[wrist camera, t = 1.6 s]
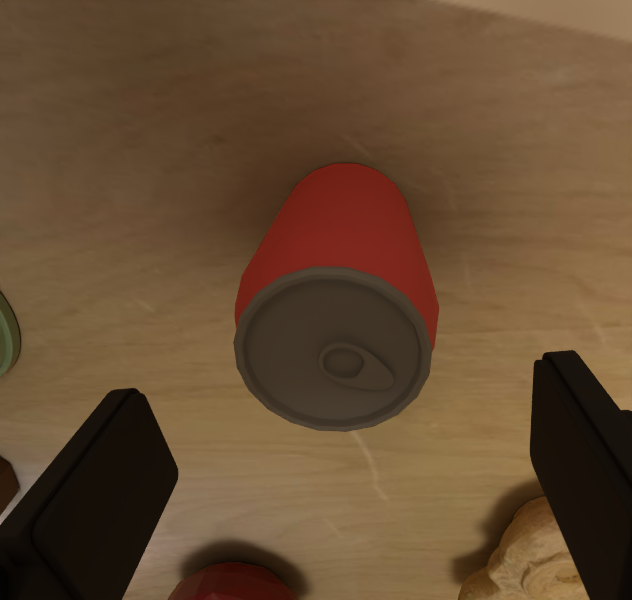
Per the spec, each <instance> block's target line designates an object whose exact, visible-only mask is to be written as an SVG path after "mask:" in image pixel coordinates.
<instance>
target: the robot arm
mask: <svg viewBox="0 0 632 600" xmlns="http://www.w3.org/2000/svg"><path fill="white" fill-rule="evenodd" d="M530 457H531V461H532V465H533V468H534V470H535V472H536V475H537V477H538V479H539V482H540V484H541V486H542V489H543V491H544V494H545V496H546V498H547V501H548V503H549V505H550V508H551V510H552V512H553V515H554V517H555V519H556V522H557V524H558V526H559V529H560V531H561V533H562V536H563V538H564V541H565V543H566V545H567V548H568V550H569V552H570V555H571V557H572V559H573V562H574V564H575V566H576V569H577V571H578V573H579V576H580V578H581V580H582V583H583V585H584V588H585V590H586V592H587V595H588V597H589V599H590V600H632V411H630V410H620V409H619V408H618V406H617V405H616V404H615V402H614V401H613V400H612V398H611V397H610V396H609V394H608V393H607V392H606V390H605V389H604V388H603V387H602V385H601V384H600V383H599V381H598V380H597V379H596V377H595V376H594V375H593V373H592V372H591V371H590V369H589V368H588V367H587V365H586V364H585V363H584V361H583V360H582V359H581V358H580V356H579V355H578V354H577V353H576V352H575V351H573V350H569V351H558V352H546V353H544V355H543V357H542V360H536V361H535V362H534V373H533V394H532V414H531V435H530ZM177 480H178V468H177V465H176V463H175V461H174V458H173V456H172V454H171V452H170V450H169V447H168V445H167V443H166V441H165V438H164V436H163V434H162V432H161V430H160V427H159V425H158V423H157V421H156V418H155V416H154V414H153V412H152V409H151V407H150V405H149V403H148V401H147V398H146V397H145V395H144V394H142V393H140V392H139V391H138V390H137V389H135V388H129V389H117V390H112V391H110V392H109V393H108V394H107V395H106V397H105V398H104V399H103V400H102V401H101V403H100V404H99V405H98V406H97V408H96V409H95V410H94V411H93V412H92V414H91V415H90V416H89V417H88V419H87V420H86V421H85V422H84V423H83V425H82V426H81V427H80V428H79V430H78V431H77V432H76V433H75V434H74V436H73V437H72V438H71V439H70V441H69V442H68V443H67V444H66V445H65V447H64V448H63V449H62V450H61V452H60V453H59V454H58V455H57V456H56V458H55V459H54V460H53V461H52V463H51V464H50V465H49V466H48V467H47V469H46V470H45V471H44V472H43V474H42V475H41V476H40V477H39V478H38V480H37V481H36V482H35V483H34V485H33V486H32V487H31V488H30V489H29V491H28V492H27V493H26V494H25V496H24V497H23V498H22V499H21V500H20V502H19V503H18V504H17V505H16V507H15V508H14V509H13V510H12V511H11V513H10V514H9V515H8V516H7V518H6V519H5V520H4V521H3V522H2V524H1V525H0V600H122V598H123V596H124V594H125V592H126V590H127V587H128V585H129V583H130V581H131V579H132V577H133V575H134V572H135V570H136V568H137V566H138V564H139V562H140V560H141V558H142V555H143V553H144V551H145V549H146V547H147V545H148V543H149V541H150V538H151V536H152V534H153V532H154V530H155V528H156V526H157V523H158V521H159V519H160V517H161V515H162V513H163V511H164V509H165V506H166V504H167V502H168V500H169V498H170V496H171V494H172V491H173V489H174V487H175V485H176V483H177Z"/></svg>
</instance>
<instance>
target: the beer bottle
mask: <svg viewBox="0 0 632 600" xmlns="http://www.w3.org/2000/svg"><path fill="white" fill-rule="evenodd" d="M18 488H19V486H18V484H17V481H16V479H15V476H14V474H13V471H12V469H11V466H10V464H9V463H8V462H6V461H5V460H3V459H2V458H0V515H1V514H2V513H3V511H4V510H5V509H6V507H7V506H8V504H9V503H10V502H11V500H12V499H13V498H14V496H15V495H16V494H17V492H18Z"/></svg>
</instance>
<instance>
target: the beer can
mask: <svg viewBox="0 0 632 600" xmlns="http://www.w3.org/2000/svg"><path fill="white" fill-rule="evenodd" d="M438 313H439V305H438V301H437V298H436V294H435V290H434V286H433V282H432V278H431V275H430V272H429V269H428V266H427V263H426V260H425V257H424V254H423V251H422V248H421V245H420V242H419V239H418V236H417V233H416V230H415V227H414V224H413V221H412V218H411V215H410V212H409V209H408V206H407V203H406V200H405V199H404V197H403V196H402V194H401V193H400V191H399V190H398V188H397V187H396V185H395V184H394V183H393V182H392V181H391V180H389V179H388V178H387V177H385V176H384V175H383V174H381V173H380V172H379V171H377V170H375V169H372V168H369V167H366V166H363V165H360V164H357V163H340V164H332V165H329V166H326V167H323V168H320V169H317V170H314V171H313V172H312V173H310V174H309V175H308V176H307V177H305V178H304V179H303V180H301V181H300V182H299V183H298V184H297V185H296V187H295V188H294V190H293V191H292V193H291V194H290V196H289V197H288V199H287V200H286V202H285V204H284V205H283V207H282V209H281V210H280V212H279V214H278V215H277V217H276V219H275V221H274V222H273V224H272V226H271V227H270V229H269V231H268V233H267V234H266V236H265V238H264V239H263V241H262V243H261V244H260V246H259V248H258V250H257V251H256V253H255V255H254V256H253V258H252V260H251V262H250V263H249V265H248V267H247V268H246V270H245V272H244V273H243V275H242V278H241V282H240V287H239V291H238V295H237V299H236V304H235V322H236V334H235V338H234V342H233V343H234V350H235V357H236V364H237V369H238V370H239V372H240V374H241V376H242V378H243V380H244V382H245V384H246V386H247V388H248V390H249V391H250V392H251V393H252V394H253V395H254V396H255V397H256V398H257V399H258V400H259V401H260V402H261V403H262V404H263V405H264V406H265V407H266V408H267V409H268V410H270V411H272V412H274V413H275V414H277V415H279V416H281V417H282V418H284V419H286V420H287V421H289V422H291V423H294V424H298V425H301V426H305V427H308V428H312V429H315V430H321V431H341V432H347V431H352V430H358V429H363V428H368V427H373V426H375V425H377V424H379V423H382V422H384V421H386V420H388V419H390V418H392V417H394V416H396V415H398V414H399V413H400V412H401V411H402V410H403V409H405V408H406V407H407V406H408V405H409V404H410V403H411V402H412V401H413V400H414V399H416V398H417V396H418V394H419V393H420V391H421V389H422V387H423V385H424V383H425V381H426V380H427V378H428V376H429V373H430V364H431V356H432V351H433V349H434V345H435V337H436V329H437V321H438Z"/></svg>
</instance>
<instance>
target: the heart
mask: <svg viewBox="0 0 632 600" xmlns="http://www.w3.org/2000/svg"><path fill="white" fill-rule="evenodd" d="M168 600H298V599H297V597H296V595H295V593H294V592H293V591H292V590H291V589H290V588H289V587H287V586H286V585H285V584H284V583H283V582H282V581H281V580H279V579H278V578H277V577H276V576H275V575H274V574H273V573H272V572H270V571H269V570H268V569H267V568H265V567H260V566H255V565H251V564H246V563H241V562H236V561H235V562H227V563H219V564H215V565H211V566H207V567H205V568H203V569H201V570H200V571H198V572H196V573H194V574H193V575H191V576H189V577H187V578H186V579H184V580H182V581H180V582H179V584H178V585H177V586H176V588H175V589H174V590H173V592H172V593H171V595H170V596H169V598H168Z"/></svg>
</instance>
